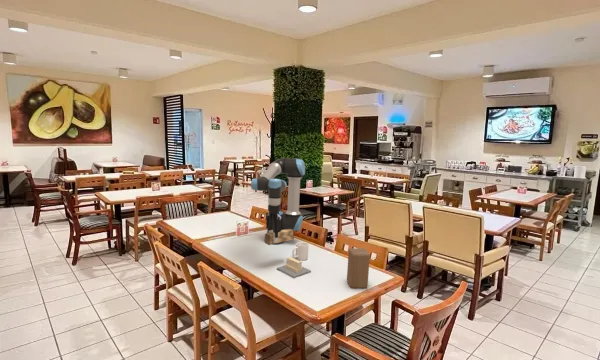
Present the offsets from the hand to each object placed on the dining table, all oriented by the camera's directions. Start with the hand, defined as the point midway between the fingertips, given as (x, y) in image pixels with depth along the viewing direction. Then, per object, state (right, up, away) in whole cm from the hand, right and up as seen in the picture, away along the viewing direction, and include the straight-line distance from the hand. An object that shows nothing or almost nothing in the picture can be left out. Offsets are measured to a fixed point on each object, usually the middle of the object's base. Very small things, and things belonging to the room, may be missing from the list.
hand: (272, 241), depth 207 cm
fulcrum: (+13, -18, -1) cm, 22 cm away
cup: (+16, -15, +18) cm, 29 cm away
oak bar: (+4, 0, +4) cm, 5 cm away
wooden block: (+49, -22, -16) cm, 56 cm away
